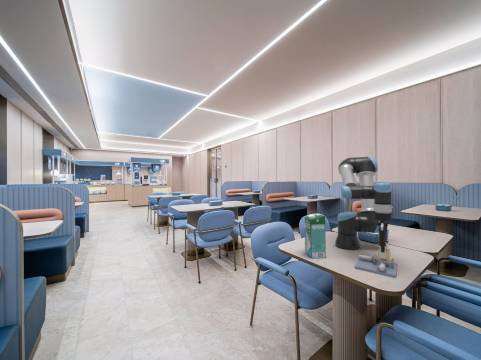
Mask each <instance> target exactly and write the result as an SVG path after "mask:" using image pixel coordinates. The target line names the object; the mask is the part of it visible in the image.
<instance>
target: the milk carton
mask: <svg viewBox="0 0 481 360" xmlns="http://www.w3.org/2000/svg"><path fill="white" fill-rule="evenodd" d="M326 239H327V237H326V215H324V214H321V213H313V214H309V215H308V216H305V217H304V253H305V254H306V255H307V256H308V257H309V258H310V259H326V258H327V256H326V255H327V252H326V251H327V249H326V248H327V247H326V246H327V245H326V243H327V242H326Z"/></svg>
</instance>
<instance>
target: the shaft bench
mask: <svg viewBox="0 0 481 360" xmlns="http://www.w3.org/2000/svg"><path fill="white" fill-rule="evenodd" d="M394 259H395V258H391V260H390V262H388V261H382V260H378V256H377V255H371V256H370V255H365V254H360V253H359V254H358V260H357V261H356V263H355V264H354V269H356V270H360V271H365V272H368V273H372V274H377V275H382V276H386V277H389V278H396V279H397V272H398V271H397V270H398V263H396V262H395V260H394Z"/></svg>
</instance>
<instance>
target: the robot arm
mask: <svg viewBox="0 0 481 360" xmlns="http://www.w3.org/2000/svg"><path fill="white" fill-rule="evenodd" d="M378 166H379V165H378V162H377V160H376V158H375V157H373V156H359V157H357V156H356V157H347V158H345V159H343V160H342V161H341V162H339V165H338V167H337V169H338V173H339V175H340V177H341V180H342V184H343V185H342V186H341V190H340V193H341V199H348V200H350V199H351V200H359V199H360V204H361V206H360V207H361V210H360V211H359V213H357V212H356V211H344V212H339V213H338V214H337V236H336V239H335V242H334V243H335V244H334V245H335V247H336V248H339V249H342V250H348V251H358V250H360V249H361V243H360V240H359V237H358V233H369V234H370V233H371V234H374V233H375V234H379V236H378V239H379V243H377V245H378V246H379V248H380V258H383V259H386V249H388V243H389V241H388V233H387V232H388V226H389V223H387V222H390V221H392V219H393V217H392V216H393V213H392V210H393V208H394V206H392V191H393V190H392V184H391V183H390V182H375V183H374V176H375V175H376V174H377V172H378V171H379V169H378ZM355 174H356V177H357V178H358V181H359V185H358V183H357V180H356V177H355Z"/></svg>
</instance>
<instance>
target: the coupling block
mask: <svg viewBox="0 0 481 360" xmlns="http://www.w3.org/2000/svg"><path fill="white" fill-rule="evenodd" d="M377 260H380V261H385V262H390V263H391V249H390V248H387V249H386V259H383V258H380V247H378V248H377Z"/></svg>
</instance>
